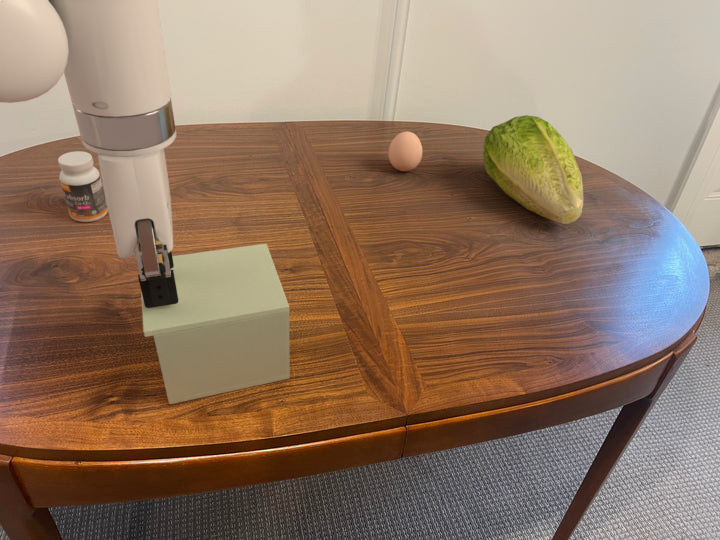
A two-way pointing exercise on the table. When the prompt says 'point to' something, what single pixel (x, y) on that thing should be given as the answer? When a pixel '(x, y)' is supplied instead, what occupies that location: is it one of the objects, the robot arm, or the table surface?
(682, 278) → the table surface
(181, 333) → the chest
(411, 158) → the egg
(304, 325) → the table surface
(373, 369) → the table surface
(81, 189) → the pill bottle
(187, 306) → the lid
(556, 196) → the lettuce
